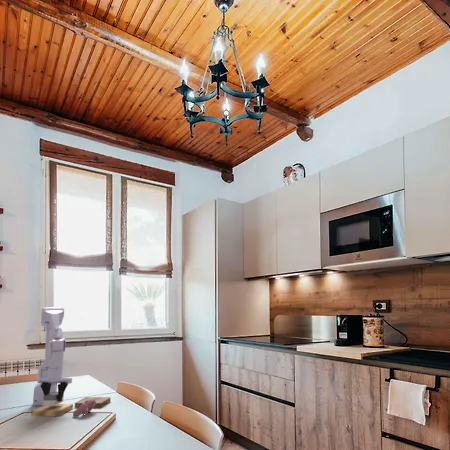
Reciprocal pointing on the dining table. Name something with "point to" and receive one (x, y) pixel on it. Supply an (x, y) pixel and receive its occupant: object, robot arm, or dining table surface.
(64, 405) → the oak stand
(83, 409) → the video game controller
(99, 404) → the walnut stand
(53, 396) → the grey rectangular block
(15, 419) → the dining table surface
